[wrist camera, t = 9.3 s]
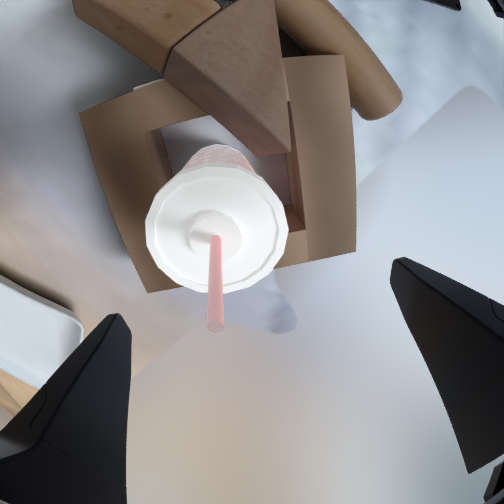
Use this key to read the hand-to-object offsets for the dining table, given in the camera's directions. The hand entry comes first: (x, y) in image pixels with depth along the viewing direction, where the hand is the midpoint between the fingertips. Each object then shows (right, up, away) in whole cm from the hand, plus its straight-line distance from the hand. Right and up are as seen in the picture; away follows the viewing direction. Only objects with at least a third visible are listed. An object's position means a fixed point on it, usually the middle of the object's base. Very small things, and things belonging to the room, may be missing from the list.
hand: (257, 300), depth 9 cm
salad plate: (-30, -7, +17) cm, 36 cm away
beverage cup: (-3, +7, +11) cm, 13 cm away
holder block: (-2, +7, +11) cm, 13 cm away
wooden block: (-6, +18, -1) cm, 19 cm away
